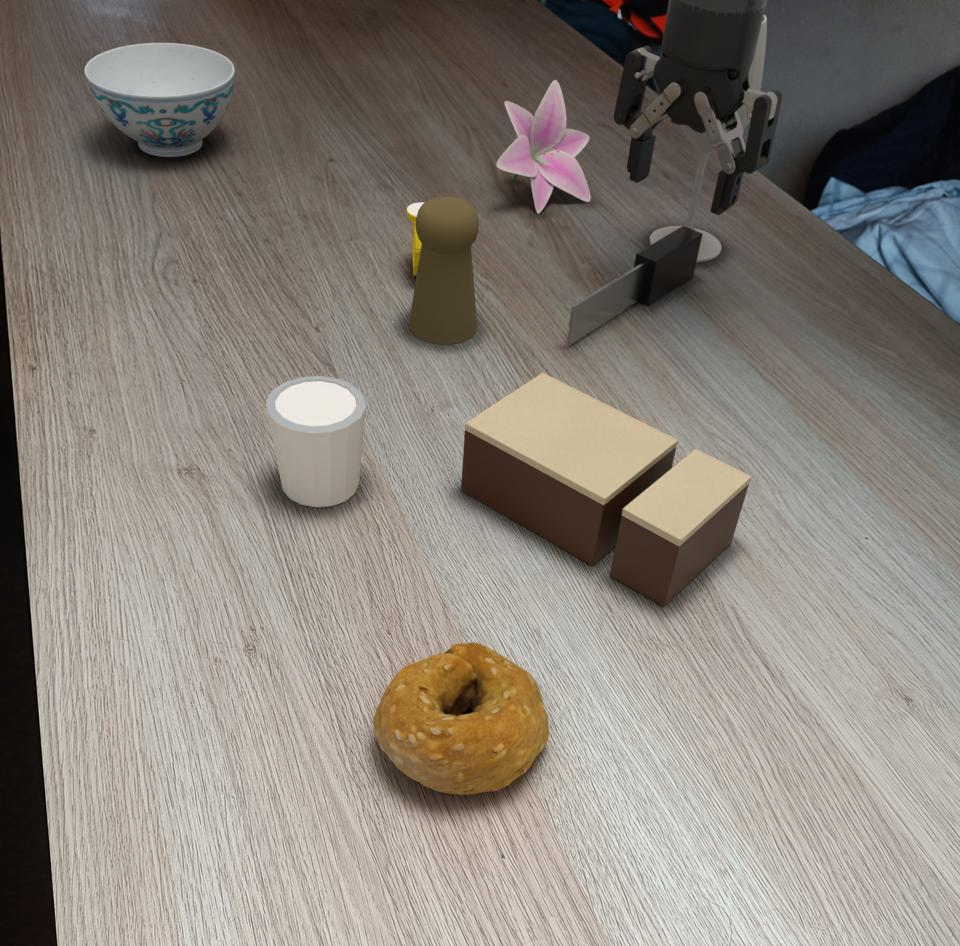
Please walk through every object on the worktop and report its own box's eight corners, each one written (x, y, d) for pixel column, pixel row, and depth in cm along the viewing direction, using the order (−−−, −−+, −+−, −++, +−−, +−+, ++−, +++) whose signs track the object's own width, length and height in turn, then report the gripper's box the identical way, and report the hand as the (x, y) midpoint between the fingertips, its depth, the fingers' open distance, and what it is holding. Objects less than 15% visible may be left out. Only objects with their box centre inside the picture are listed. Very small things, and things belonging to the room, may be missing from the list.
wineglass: (683, 220, 114) (728, -5, 99) (738, 250, 110) (794, 21, 95) (631, 239, 111) (671, 8, 95) (687, 270, 107) (737, 35, 92)
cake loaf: (534, 438, 86) (542, 372, 82) (662, 506, 81) (678, 439, 77) (460, 490, 81) (464, 422, 77) (592, 566, 76) (605, 498, 72)
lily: (472, 221, 113) (515, 154, 105) (462, 132, 117) (502, 61, 109) (572, 247, 119) (621, 185, 111) (559, 161, 123) (604, 96, 115)
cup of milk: (253, 479, 81) (244, 398, 76) (327, 443, 84) (323, 363, 79) (312, 525, 78) (307, 444, 72) (386, 486, 81) (386, 406, 76)
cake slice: (678, 515, 81) (695, 448, 77) (731, 543, 79) (751, 476, 75) (609, 576, 76) (622, 508, 72) (663, 607, 74) (681, 540, 70)
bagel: (585, 730, 66) (596, 677, 63) (462, 841, 60) (466, 789, 57) (463, 644, 70) (467, 590, 67) (336, 740, 64) (334, 687, 61)
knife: (674, 268, 107) (683, 225, 104) (693, 276, 106) (703, 233, 103) (557, 343, 96) (563, 297, 93) (577, 352, 95) (584, 306, 92)
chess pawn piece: (400, 336, 95) (401, 213, 87) (419, 302, 99) (422, 182, 91) (467, 349, 95) (475, 226, 87) (484, 314, 99) (492, 194, 91)
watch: (404, 254, 106) (405, 192, 101) (433, 254, 106) (435, 193, 102) (406, 285, 101) (407, 223, 97) (436, 286, 102) (438, 224, 97)
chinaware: (215, 182, 114) (206, 104, 108) (75, 163, 114) (59, 85, 109) (258, 126, 124) (252, 52, 118) (130, 109, 125) (118, 35, 119)
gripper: (822, 6, 85) (768, 209, 97) (668, -40, 91) (635, 157, 103) (775, 27, 81) (725, 237, 93) (617, -23, 87) (588, 181, 99)
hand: (678, 195), depth 98 cm, fingers open, 8 cm apart
